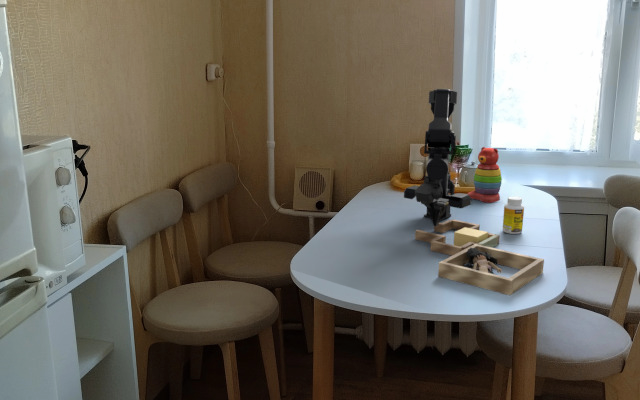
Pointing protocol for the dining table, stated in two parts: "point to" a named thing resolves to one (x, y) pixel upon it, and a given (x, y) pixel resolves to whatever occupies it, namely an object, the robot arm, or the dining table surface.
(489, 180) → the stacking bear
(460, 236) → the block
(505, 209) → the supplement bottle
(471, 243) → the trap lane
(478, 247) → the fence
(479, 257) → the toy figure
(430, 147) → the robot arm
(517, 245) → the dining table surface
